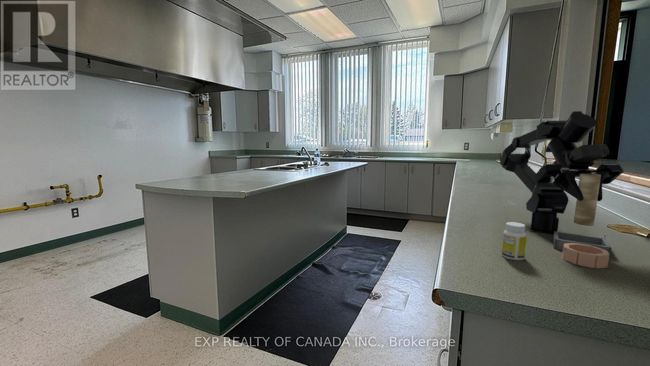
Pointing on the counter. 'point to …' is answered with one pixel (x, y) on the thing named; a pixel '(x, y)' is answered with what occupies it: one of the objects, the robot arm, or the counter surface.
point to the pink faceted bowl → (585, 255)
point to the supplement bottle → (514, 241)
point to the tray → (580, 240)
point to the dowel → (587, 199)
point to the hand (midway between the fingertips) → (591, 200)
